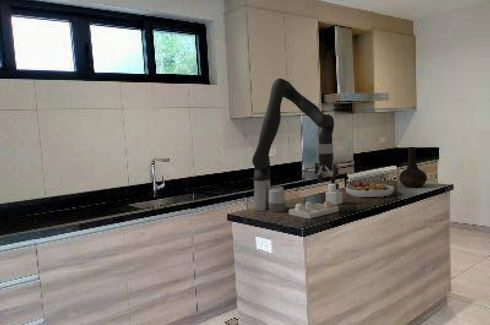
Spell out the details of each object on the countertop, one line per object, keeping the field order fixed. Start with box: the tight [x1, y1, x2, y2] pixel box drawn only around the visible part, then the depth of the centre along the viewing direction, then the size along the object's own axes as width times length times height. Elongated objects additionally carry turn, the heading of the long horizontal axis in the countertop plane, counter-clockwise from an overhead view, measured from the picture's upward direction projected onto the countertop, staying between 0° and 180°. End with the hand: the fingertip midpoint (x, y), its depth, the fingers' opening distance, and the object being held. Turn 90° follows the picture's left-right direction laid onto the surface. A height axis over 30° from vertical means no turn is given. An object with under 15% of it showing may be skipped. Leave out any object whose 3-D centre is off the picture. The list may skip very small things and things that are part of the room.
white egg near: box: [294, 202, 304, 211], centre depth 203 cm, size 4×4×6 cm
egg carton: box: [288, 202, 340, 219], centre depth 204 cm, size 15×22×3 cm
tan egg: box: [323, 200, 333, 208], centre depth 205 cm, size 4×4×6 cm
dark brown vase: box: [398, 146, 428, 188], centre depth 271 cm, size 18×18×28 cm
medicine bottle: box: [325, 182, 343, 206], centre depth 228 cm, size 7×7×12 cm
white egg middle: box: [304, 201, 314, 209], centre depth 207 cm, size 4×4×6 cm
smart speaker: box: [268, 185, 287, 213], centre depth 214 cm, size 10×9×14 cm
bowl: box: [345, 180, 395, 198], centre depth 252 cm, size 30×30×8 cm
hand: (326, 182), depth 204 cm, fingers open, 8 cm apart
